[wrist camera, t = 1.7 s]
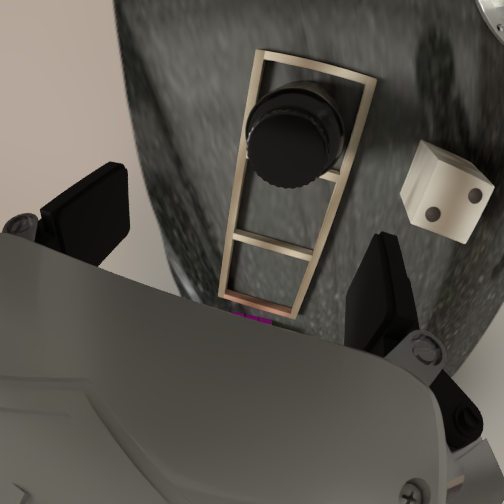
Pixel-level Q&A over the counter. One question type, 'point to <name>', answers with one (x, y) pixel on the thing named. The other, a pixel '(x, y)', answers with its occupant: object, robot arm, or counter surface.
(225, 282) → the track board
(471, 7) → the counter surface
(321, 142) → the supplement bottle
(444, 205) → the die
